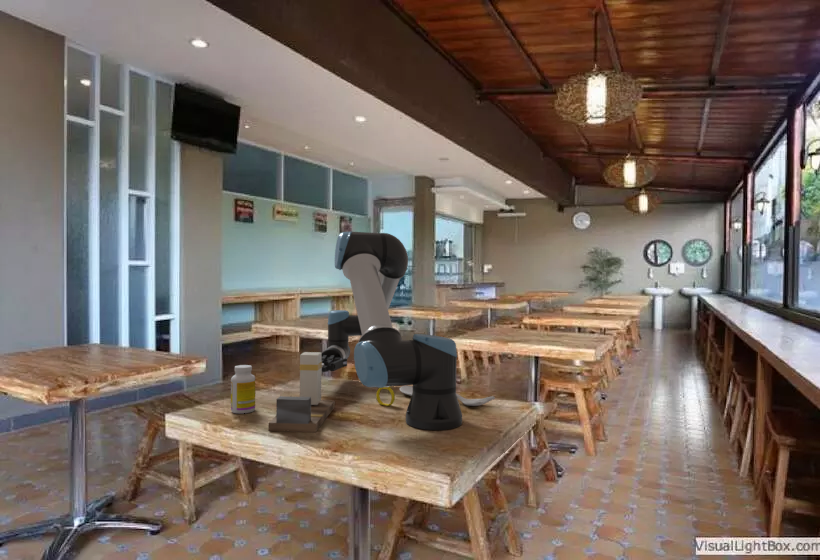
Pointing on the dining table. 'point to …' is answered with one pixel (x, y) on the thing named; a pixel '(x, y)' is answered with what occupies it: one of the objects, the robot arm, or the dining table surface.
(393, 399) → the yellow ring
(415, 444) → the dining table surface
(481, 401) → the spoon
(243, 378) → the supplement bottle
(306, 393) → the banded white pillar
